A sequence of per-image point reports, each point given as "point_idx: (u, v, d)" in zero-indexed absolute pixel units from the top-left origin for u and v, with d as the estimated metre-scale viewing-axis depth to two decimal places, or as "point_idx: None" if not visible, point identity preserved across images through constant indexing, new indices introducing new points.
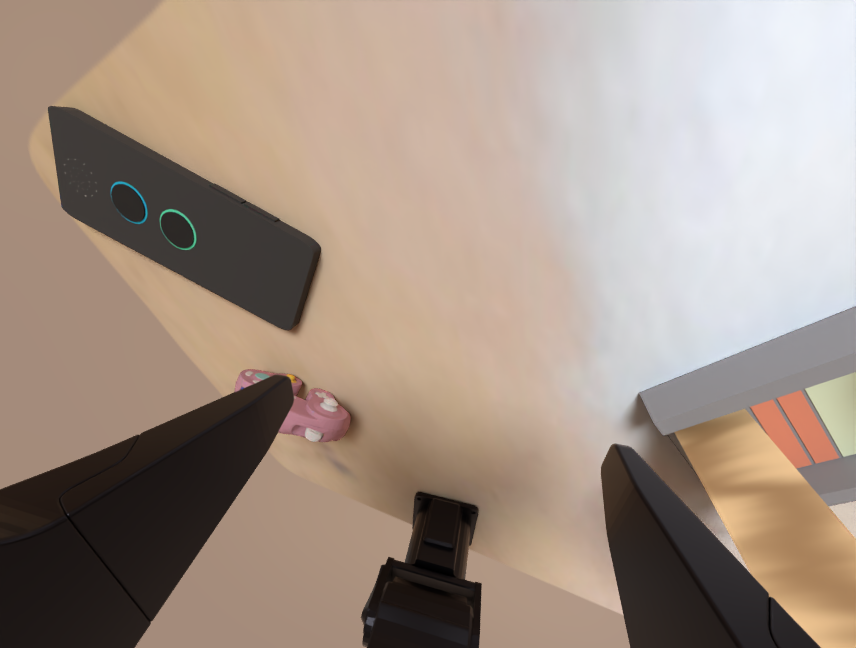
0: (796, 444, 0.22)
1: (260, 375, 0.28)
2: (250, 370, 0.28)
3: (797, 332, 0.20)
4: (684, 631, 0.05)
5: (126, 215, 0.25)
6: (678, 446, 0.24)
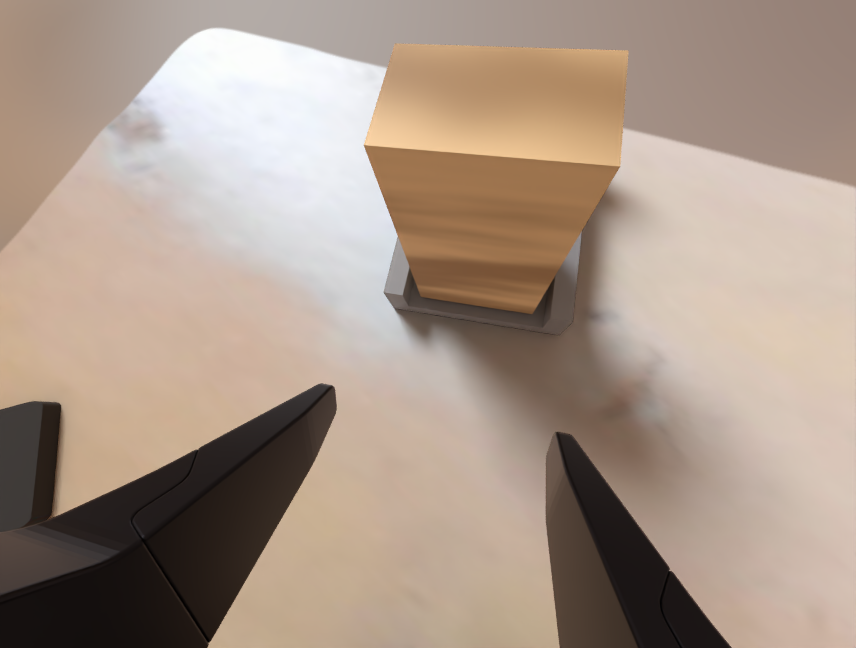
0: None
1: None
2: None
3: None
4: (592, 605, 0.06)
5: None
6: (462, 313, 0.22)
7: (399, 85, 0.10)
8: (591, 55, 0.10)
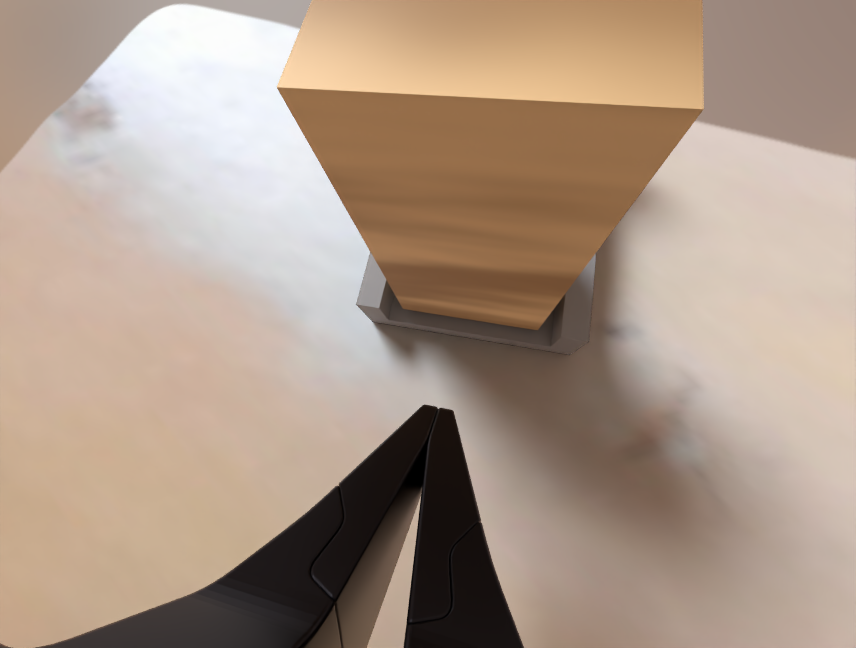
0: None
1: None
2: None
3: None
4: None
5: None
6: (453, 328, 0.18)
7: None
8: None
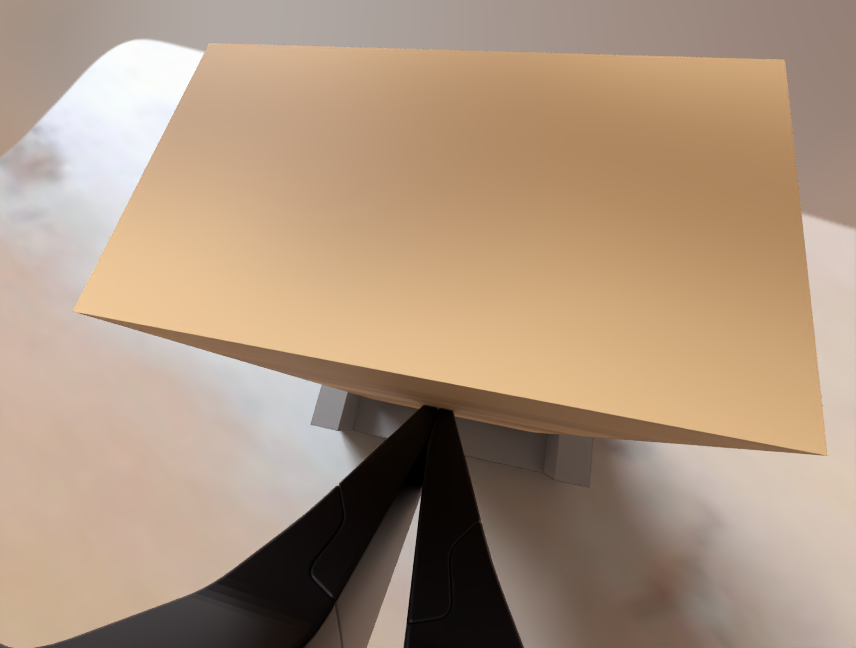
0: None
1: None
2: None
3: None
4: None
5: None
6: None
7: (196, 144, 0.04)
8: (681, 73, 0.04)
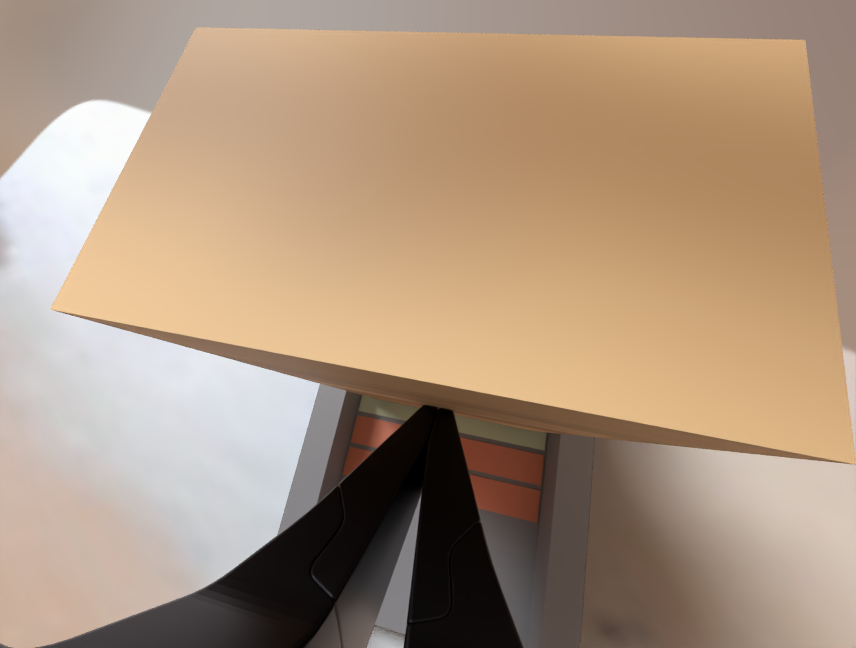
0: (488, 481, 0.14)
1: None
2: None
3: None
4: None
5: None
6: (393, 626, 0.13)
7: (181, 133, 0.04)
8: (693, 54, 0.03)
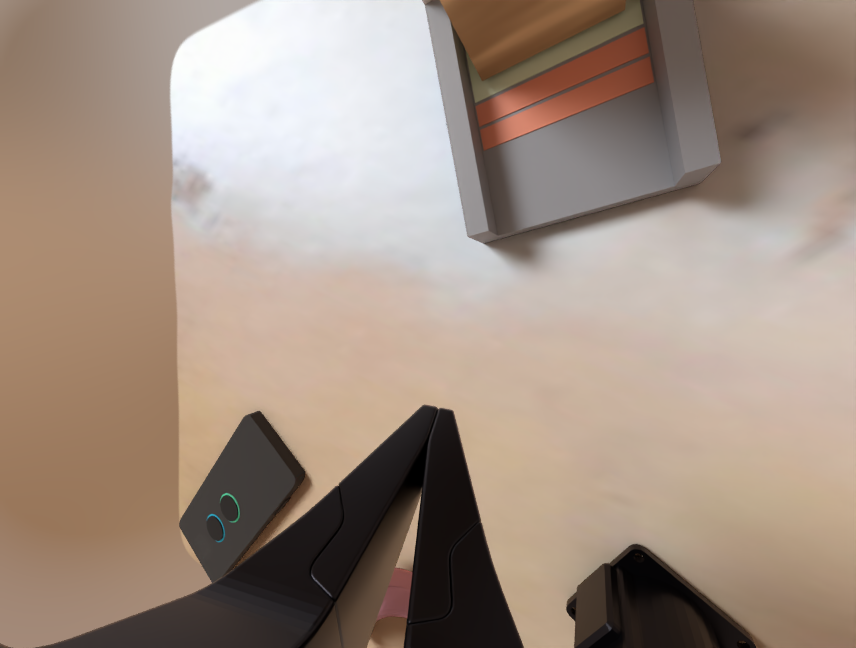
0: (600, 80, 0.17)
1: None
2: None
3: None
4: None
5: (219, 538, 0.35)
6: (561, 215, 0.18)
7: None
8: None
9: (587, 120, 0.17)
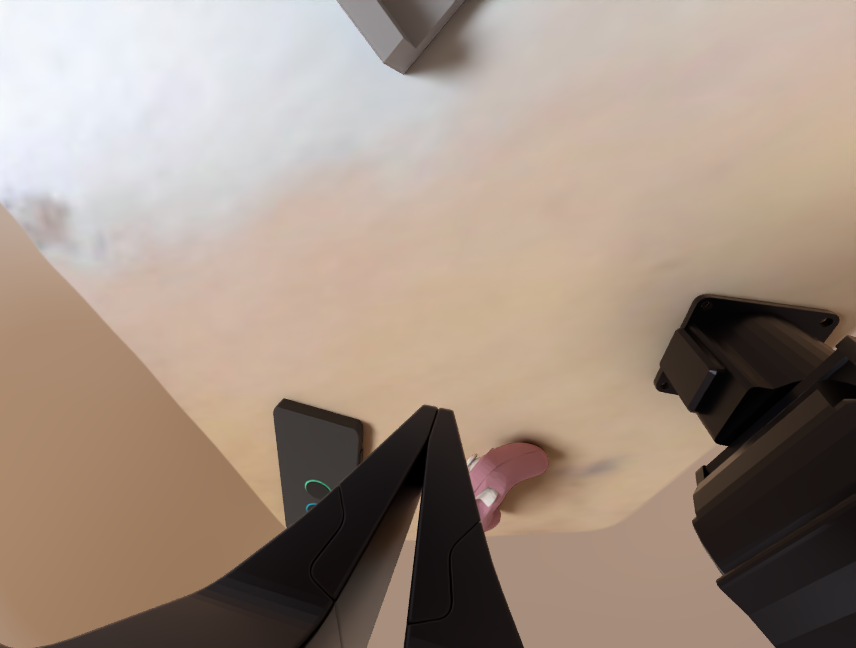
0: None
1: None
2: None
3: None
4: None
5: None
6: None
7: None
8: None
9: None
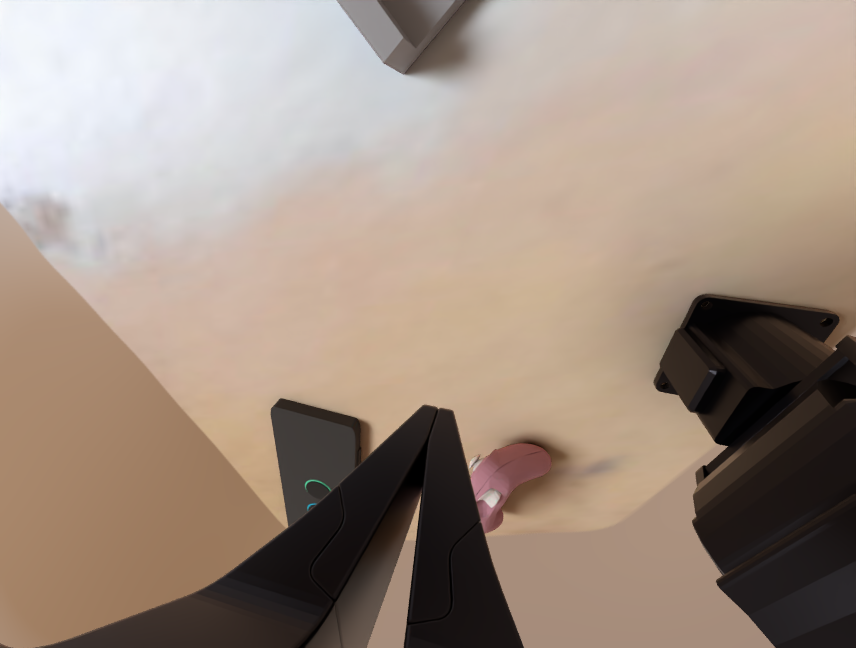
0: None
1: None
2: None
3: None
4: None
5: None
6: None
7: None
8: None
9: None
